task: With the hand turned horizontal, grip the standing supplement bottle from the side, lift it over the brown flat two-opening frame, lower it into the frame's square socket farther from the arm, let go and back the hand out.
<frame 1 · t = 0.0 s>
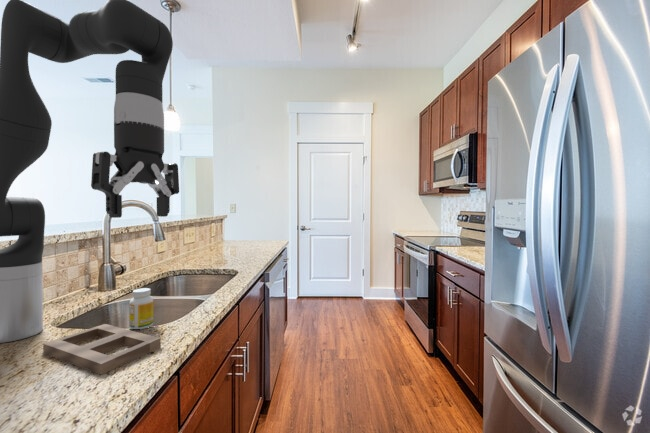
hand: (140, 216, 52), 29 cm above the counter, tool pointing down, fingers open, 8 cm apart
supplement bottle: (141, 327, 77), on the counter
brown flat two-opening frame: (103, 350, 64), on the counter
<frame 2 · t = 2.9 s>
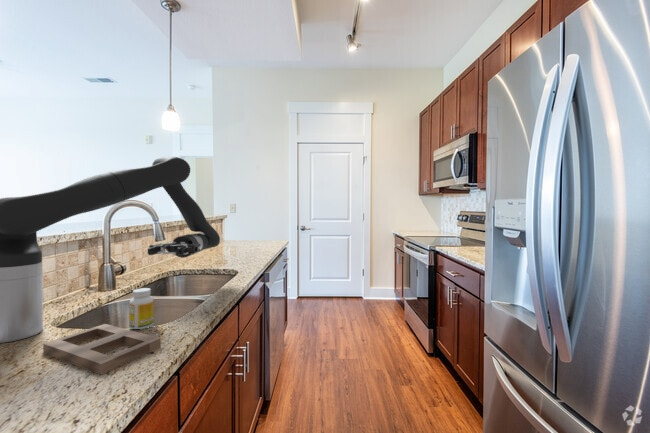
hand: (163, 251, 87), 18 cm above the counter, tool horizontal, fingers open, 8 cm apart
nothing on the counter moved.
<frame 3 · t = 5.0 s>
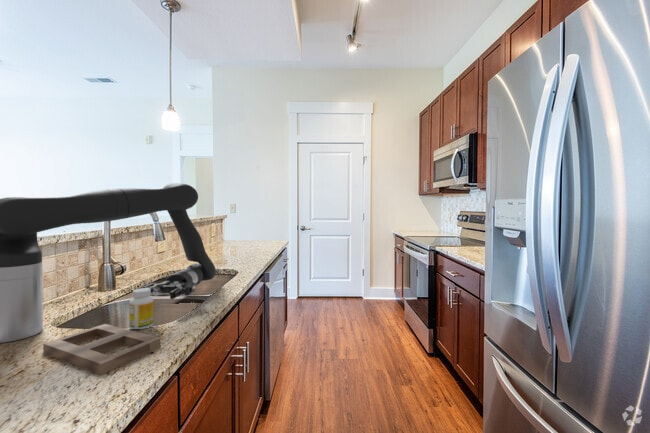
hand: (156, 295, 84), 6 cm above the counter, tool horizontal, fingers open, 8 cm apart
nothing on the counter moved.
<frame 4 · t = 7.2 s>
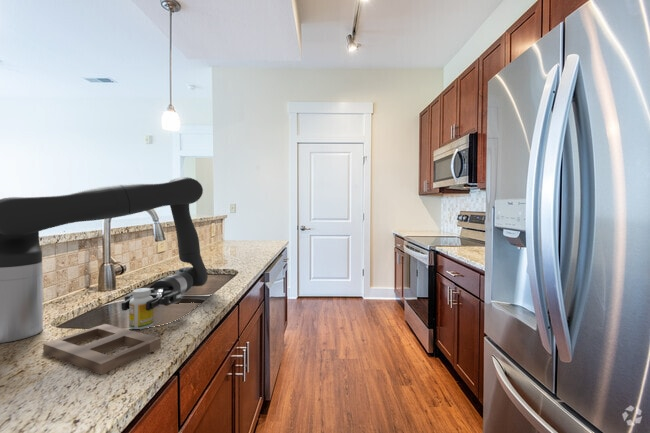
hand: (135, 306, 74), 6 cm above the counter, tool horizontal, fingers closed on supplement bottle, 5 cm apart
supplement bottle: (141, 327, 77), on the counter, touching gripper
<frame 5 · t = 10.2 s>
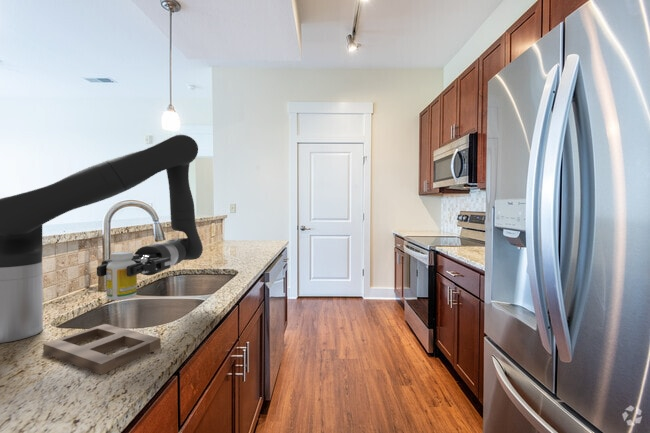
hand: (113, 271, 61), 18 cm above the counter, tool horizontal, fingers closed on supplement bottle, 5 cm apart
supplement bottle: (122, 297, 63), point 11 cm above the counter, touching gripper
when the fingers open (7 cm above the counter, at t = 13.6 s): supplement bottle stays where it is, resting in brown flat two-opening frame.
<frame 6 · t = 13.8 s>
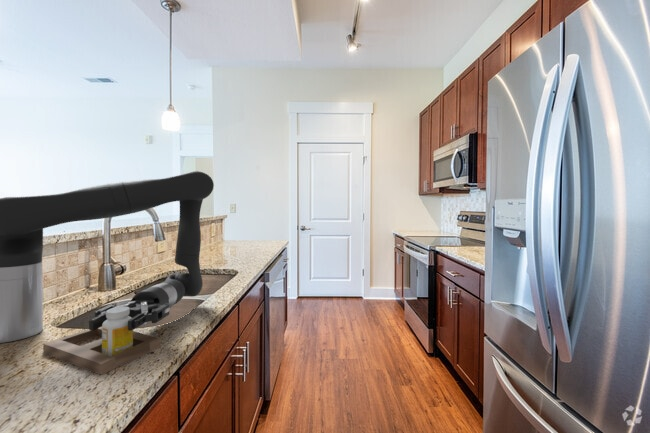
hand: (110, 325, 59), 7 cm above the counter, tool horizontal, fingers open, 7 cm apart
supplement bottle: (118, 355, 62), resting in brown flat two-opening frame
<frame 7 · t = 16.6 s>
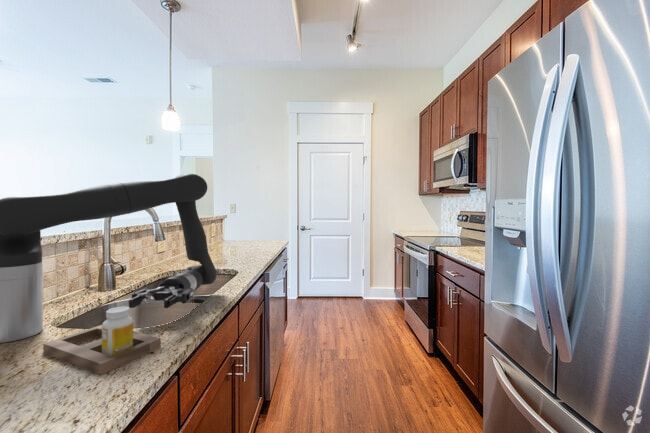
hand: (148, 304, 73), 7 cm above the counter, tool horizontal, fingers open, 8 cm apart
nothing on the counter moved.
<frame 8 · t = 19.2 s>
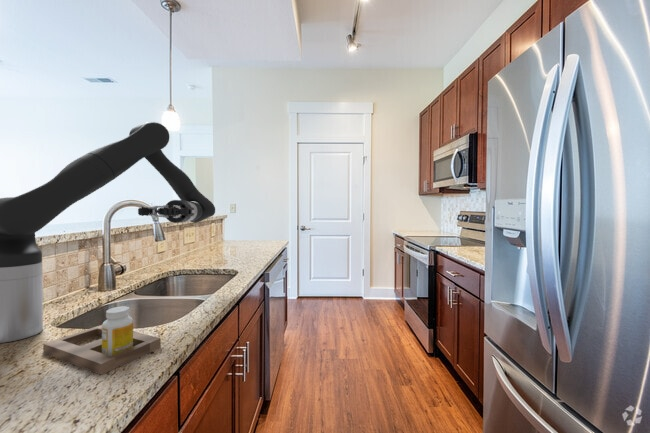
hand: (155, 211, 83), 30 cm above the counter, tool horizontal, fingers open, 8 cm apart
nothing on the counter moved.
at the end: supplement bottle 0.1 cm from the target spot on the brown flat two-opening frame, point 0.0 cm above the brown flat two-opening frame's base; supplement bottle tilted 0°; the gripper is holding nothing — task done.
